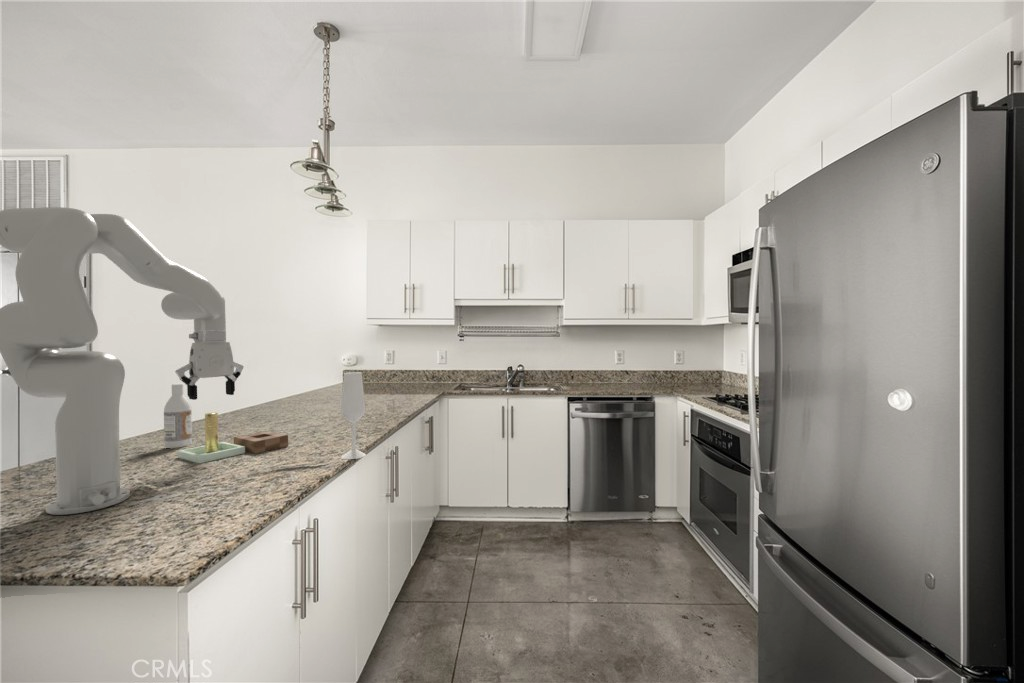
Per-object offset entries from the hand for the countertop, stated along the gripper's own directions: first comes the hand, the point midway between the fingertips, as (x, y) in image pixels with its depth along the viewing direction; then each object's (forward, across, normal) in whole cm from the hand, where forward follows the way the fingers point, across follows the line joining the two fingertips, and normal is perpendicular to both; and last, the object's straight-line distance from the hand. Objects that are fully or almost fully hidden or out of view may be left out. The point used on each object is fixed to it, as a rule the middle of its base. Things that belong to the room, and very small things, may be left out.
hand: (212, 396), depth 127 cm
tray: (+17, -1, 0) cm, 17 cm away
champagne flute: (+18, +20, -35) cm, 44 cm away
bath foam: (+18, 0, +23) cm, 29 cm away
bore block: (+18, +12, -3) cm, 21 cm away
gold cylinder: (+17, -1, 0) cm, 17 cm away
